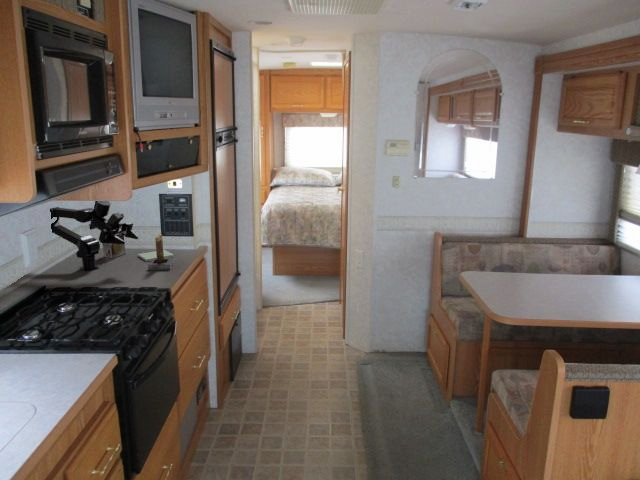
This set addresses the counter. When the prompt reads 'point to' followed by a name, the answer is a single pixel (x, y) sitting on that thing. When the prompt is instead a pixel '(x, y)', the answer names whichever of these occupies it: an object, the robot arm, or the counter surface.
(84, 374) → the counter surface
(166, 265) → the lock plate
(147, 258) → the pale green flat slab
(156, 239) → the brown wooden column
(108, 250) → the coffee box
